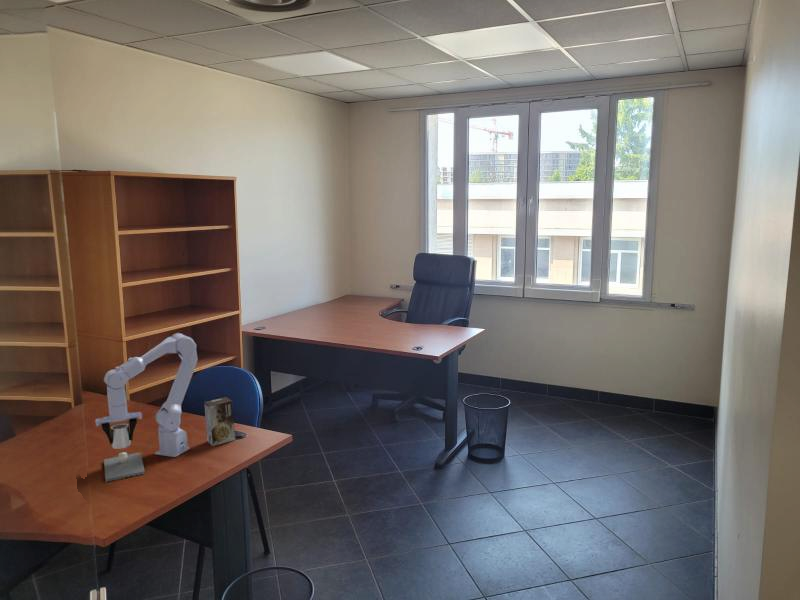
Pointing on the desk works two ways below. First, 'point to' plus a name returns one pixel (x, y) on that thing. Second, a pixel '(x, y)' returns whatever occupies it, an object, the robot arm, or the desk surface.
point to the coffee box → (219, 421)
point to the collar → (120, 436)
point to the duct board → (123, 466)
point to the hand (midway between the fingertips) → (121, 441)
